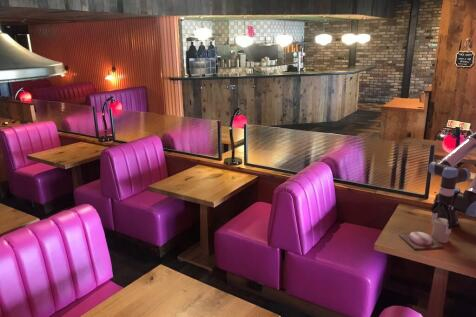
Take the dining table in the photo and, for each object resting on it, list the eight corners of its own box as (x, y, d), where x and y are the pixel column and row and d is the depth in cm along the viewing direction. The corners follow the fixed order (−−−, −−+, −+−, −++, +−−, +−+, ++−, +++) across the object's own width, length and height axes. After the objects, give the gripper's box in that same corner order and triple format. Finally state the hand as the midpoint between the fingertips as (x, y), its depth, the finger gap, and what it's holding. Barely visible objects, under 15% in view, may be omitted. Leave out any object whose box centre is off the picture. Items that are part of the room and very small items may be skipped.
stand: (425, 234, 239) (426, 229, 238) (442, 248, 223) (443, 242, 222) (399, 235, 237) (399, 230, 236) (414, 250, 221) (415, 244, 220)
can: (450, 243, 228) (453, 224, 225) (433, 241, 230) (436, 223, 227) (445, 236, 237) (448, 217, 234) (429, 234, 239) (432, 216, 235)
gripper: (427, 186, 237) (422, 219, 243) (454, 202, 213) (447, 238, 219) (439, 186, 238) (433, 219, 244) (467, 202, 214) (460, 237, 220)
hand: (440, 228), depth 231 cm, fingers open, 13 cm apart
